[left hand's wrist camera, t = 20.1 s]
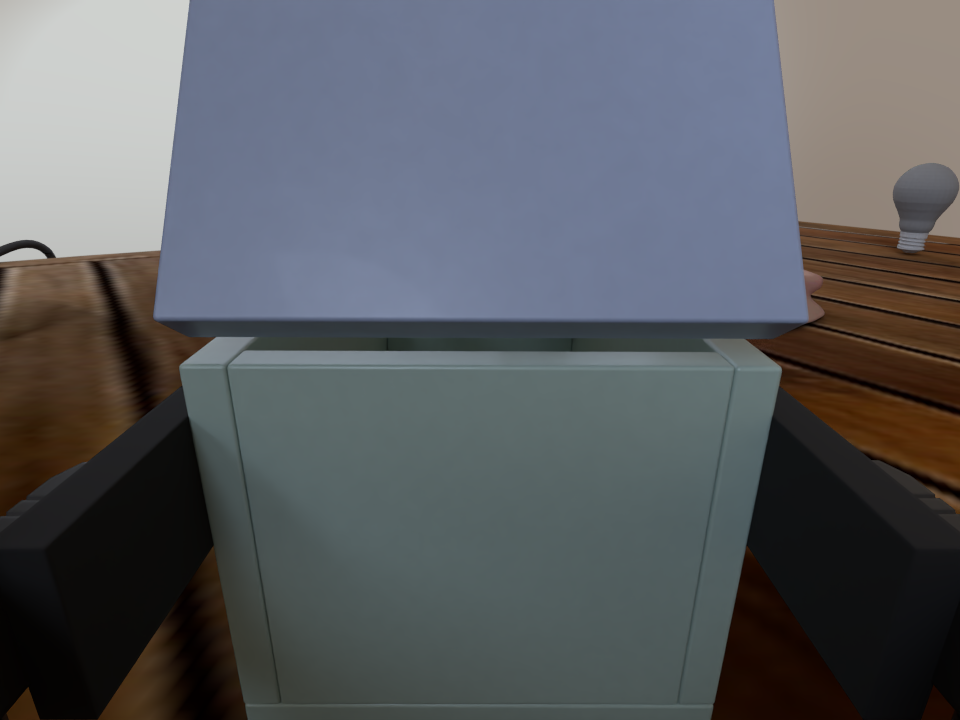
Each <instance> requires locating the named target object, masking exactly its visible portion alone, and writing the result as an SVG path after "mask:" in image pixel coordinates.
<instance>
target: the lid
mask: <svg viewBox="0 0 960 720" xmlns="http://www.w3.org/2000/svg"><path fill="white" fill-rule="evenodd" d="M153 317H154V320H155V321H157V322H159V323H161V324H163V325H165V326H167V327H169V328H171V329H173V330H176V331H178V332H180V333H182V334H184V335H186V336H188V337H360V338H651V339H773V338H776V337H778V336H780V335H782V334H784V333H786V332H789V331H791V330H793V329H795V328H797V327H799V326H801V325H804V324H806V323H807V322H808V320H809V316H808V307H807V298H806V289H805V279H804V270H803V261H802V252H801V243H800V234H799V225H798V216H797V207H796V198H795V189H794V180H793V171H792V162H791V153H790V144H789V135H788V126H787V116H786V107H785V98H784V90H783V80H782V71H781V62H780V53H779V44H778V35H777V26H776V17H775V8H774V0H190V3H189V12H188V21H187V29H186V38H185V47H184V55H183V64H182V72H181V81H180V90H179V98H178V107H177V115H176V124H175V133H174V141H173V150H172V159H171V168H170V176H169V185H168V193H167V202H166V211H165V219H164V228H163V236H162V245H161V254H160V262H159V271H158V279H157V288H156V297H155V305H154V314H153Z"/></svg>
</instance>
